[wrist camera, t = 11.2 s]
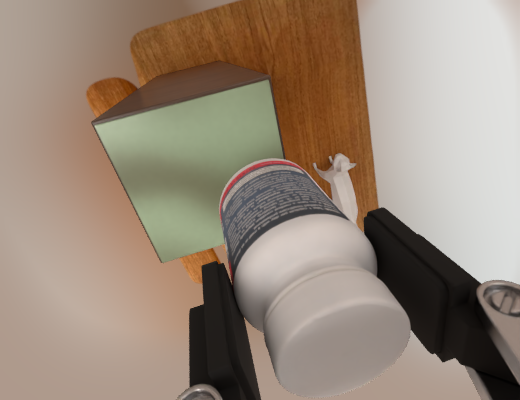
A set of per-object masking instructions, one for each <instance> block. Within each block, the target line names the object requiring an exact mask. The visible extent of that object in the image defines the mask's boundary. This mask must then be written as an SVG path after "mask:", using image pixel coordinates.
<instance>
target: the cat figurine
mask: <svg viewBox="0 0 520 400" xmlns="http://www.w3.org/2000/svg"><path fill="white" fill-rule="evenodd" d="M329 160H330V163H331V164H332V166H331V167H330V168H329V169H328V170H327V171H321V170H319V169H317V166H316V163H313V165H314V169H315V170H316V171H317V173H318V174H319V175H320V176H321V177H322V178H323V179H325V180H326V181H328V182H329V183H330V184H331V191H332V199H333V200H332V201H333V202H334V203H335V204H336V205H337V206H338V207H339V209H340V210H341V211H342V212H343V213H344V214H345V215H346V216H347V217H348V218H349V219H350V220H351V221H352V222H353V223H354V224H355V225H356V226H357V224H356V219H357V214H358V208H357V204H356V197H355V193H354V189H353V186H352V182H351V179H350V177H349V174H348V170H349V169H351V168H353V167H355V165H356V163H351V164H350V162H349V159H348V158H347V157H345V156H344V155H342V154H341V153H338V154H336V155H335V158H334V161H333V160H332V157H331V156H329Z"/></svg>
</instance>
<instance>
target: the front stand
mask: <svg viewBox="0 0 520 400" xmlns="http://www.w3.org/2000/svg"><path fill="white" fill-rule="evenodd" d="M91 123H92V125H93V127H94V129H95V131H96V133H97V136H98V138H99V140H100V142H101V143H102V146H103V148H104V150H105V152H106V154H107V156H108V158H109V159H110V161H111V164H112V166H113V167H114V170H115V172H116V174H117V176H118V178H119V179H120V181H121V184H122V186H123V187H124V190H125V191H126V194H127V196H128V198H129V199H130V201H131V204H132V205H133V208H134V210H135V212H136V214H137V216H138V217H139V220H140V222H141V224H142V226H143V228H144V230H145V232H146V234H147V235H148V238H149V240H150V242H151V244H152V246H153V247H154V250H155V252H156V253H157V256H158V258H159V260H160V261H161V263H164V262H167V261H171V260H174V259H177V258H181V257H184V256H187V255H190V254H194V253H197V252H200V251H203V250H207V249H210V248H213V247H216V246H219V245H223V244H225V242H224V237H223V231H222V226H221V221H220V214H219V204H220V198H221V195H222V192H223V190H224V188H225V186H226V184H227V183H228V181H229V180H230V179H231V178H232V176H233V175H234V174H235V173H237V172H238V171H239V170H240V169H242V168H243V167H245V166H247V165H249V164H251V163H253V162H255V161H259V160H263V159H270V158H277V159H284V160H286V158H285V153H284V147H283V142H282V137H281V131H280V126H279V120H278V115H277V110H276V104H275V99H274V94H273V88H272V83H271V77H270V75H267V74H263V73H260V72H257V71H253V70H250V69H246V68H243V67H240V66H236V65H233V64H229V63H226V62H222V61H216V62H212V63H208V64H204V65H200V66H196V67H192V68H188V69H184V70H180V71H176V72H172V73H168V74H164V75H160V76H156V77H155V78H154V79H152V80H151V81H149V82H148V83H146V84H145V85H143V86H142V87H141V88H139V89H138V90H136V91H135V92H133V93H132V94H131V95H129V96H128V97H126V98H125V99H123V100H122V101H121V102H119V103H118V104H116V105H115V106H113V107H112V108H111V109H109V110H108V111H106V112H105V113H103V114H102V115H101V116H99V117H98V118H96V119H95V120H93V121H92V122H91Z"/></svg>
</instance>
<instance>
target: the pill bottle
mask: <svg viewBox="0 0 520 400" xmlns="http://www.w3.org/2000/svg"><path fill="white" fill-rule="evenodd" d="M219 214H220V221H221V226H222V231H223V237H224V242H225V247H226V253H227V258H228V263H229V269H230V275H231V280H232V286H233V291H234V295H235V298H236V302H237V304H238V307H239V309H240V311H241V313H242V315H243V316H244V317H245V319H246V320H247V321H248V322H249V323H250V324H251V325H252V326H253V327H255V328H256V329H257V330H259V331H261V332H263V333H264V336H265V343H266V347H267V349H268V352H269V355H270V358H271V362H272V365H273V368H274V372H275V375H276V377H277V379H278V381H279V383H280V384H281V385H282V386H283V387H284V388H285V389H286V390H287V391H289V392H291V393H293V394H296V395H298V396H302V397H309V398H324V397H332V396H336V395H340V394H344V393H346V392H349V391H352V390H354V389H357V388H359V387H361V386H364V385H365V384H367V383H369V382H371V381H372V380H374V379H376V378H377V377H379V376H380V375H381V374H382V373H384V372H385V371H386V370H387V369H388V368H390V367H391V366H392V365H393V364H394V363H395V362H396V360H397V359H398V358H399V357H400V355H401V354H402V353H403V351H404V349H405V348H406V346H407V343H408V341H409V338H410V331H411V327H410V320H409V318H408V316H407V314H406V312H405V310H404V309H403V308H402V306H401V305H400V304H399V302H398V301H397V300H396V298H395V297H394V296H393V295H392V293H391V292H390V291H389V289H388V288H387V286H386V285H385V284H384V283H383V282H382V281H381V280H380V279H378V278H377V258H376V254H375V251H374V248H373V246H372V244H371V243H370V241H369V240H368V238H367V237H366V236H365V235H364V233H363V232H362V231H361V230H360V229H359V228H358V227H357V226H356V225H355V224H354V223H353V222H352V221H351V220H350V219H349V218H348V217H347V216H346V215H345V214H344V213H343V212H342V211H341V210H340V209H339V207H338V206H337V205H336V204H335V203H334V202H333V201H332V200H331V199H330V198H329V197H328V196H327V195H326V193H325V192H324V191H323V190H322V189H321V188H320V187H319V186H318V184H317V183H316V182H315V181H314V180H313V179H312V177H311V176H310V175H309V174H308V173H307V172H306V171H305V170H304V169H302V168H301V167H300V166H298V165H297V164H295V163H293V162H290V161H288V160H284V159H277V158H270V159H263V160H259V161H255V162H253V163H251V164H249V165H247V166H245V167H243V168H242V169H240V170H239V171H238V172H237V173H235V174H234V175H233V176H232V178H231V179H230V180H229V181H228V183H227V184H226V186H225V188H224V190H223V192H222V195H221V198H220V204H219Z"/></svg>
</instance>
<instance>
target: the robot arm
mask: <svg viewBox="0 0 520 400" xmlns="http://www.w3.org/2000/svg"><path fill="white" fill-rule="evenodd" d="M364 235H365V236H366V237H367V238H368V240H369V241H370V243H371V244H372V246H373V248H374V251H375V254H376V258H377V278H378V279H380V280H381V281H382V282H383V283H384V284H385V285H386V286H387V288H388V289H389V291H390V292H391V293H392V295H393V296H394V297H395V298H396V300H397V301H398V302H399V304H400V305H401V306H402V308H403V309H404V310H405V312H406V314H407V316H408V318H409V320H410V327H411V330H412V331H413V333H414V334H415V335H416V337H417V338H418V339H419V340H420V342H421V343H422V344H423V345H424V346H425V348H426V349H427V350H428V351H429V352H430V353H431V354H434V353H435V354H436V355H437V356H438V357H439V358H440V359H441V361H442V362H445V361H448V360H450V359H453V358H456V359H457V360H458V361H459V363H460V364H461V365H464V366H465V367H466V370H467V372H468V374H469V376H470V378H471V380H472V382H473V384H474V386H475V387H476V390H477V392H478V394H479V395H480V397H481V400H520V285H518V284H516V283H513V282H508V281H503V280H492V281H487V282H484V283H483V284H481V283H480V282H478V281H477V280H476V279H475V278H473V277H472V276H471V275H470V274H469V273H467V272H466V271H465V270H464V269H462V268H461V267H460V266H458V265H457V264H456V263H455V262H454V261H452V260H451V259H450V258H448V257H447V256H446V255H445V254H444V253H442V252H441V251H440V250H439V249H437V248H436V247H435V246H434V245H432V244H431V243H430V242H429V241H427V240H426V239H425V238H424V237H422V236H421V235H419V234H416V233H415V232H414V231H412V230H411V229H410V228H409V227H407V226H406V225H405V224H404V223H403V222H401V221H400V220H399V219H398V218H396V217H395V216H394V215H393V214H391V213H390V212H389V211H388V210H387V209H385V208H379V209H376V210H373V211H370V212H368V213H367V217H364ZM202 282H203V299H204V304H203V305H200V306H197V307H194V308H191V309H190V313H189V339H190V340H189V345H190V346H189V351H190V353H189V354H190V355H189V356H190V358H189V359H190V361H189V366H190V388H188V389H186V390H185V391H184V392H183V393H182V394H181V395H179V397H178V398H177V400H261V397H260V393H259V388H258V383H257V378H256V373H255V369H254V364H253V359H252V354H251V349H250V344H249V339H248V335H247V330H246V325H245V320H244V316H243V315H242V313H241V311H240V309H239V307H238V304H237V302H236V298H235V295H234V291H233V286H232V284H231V282H230V279H229V276H228V273H227V270H226V268H225V265H224V263H221V264H218V262H217V261H214V262H211V263H208V264H205V265H202Z"/></svg>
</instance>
